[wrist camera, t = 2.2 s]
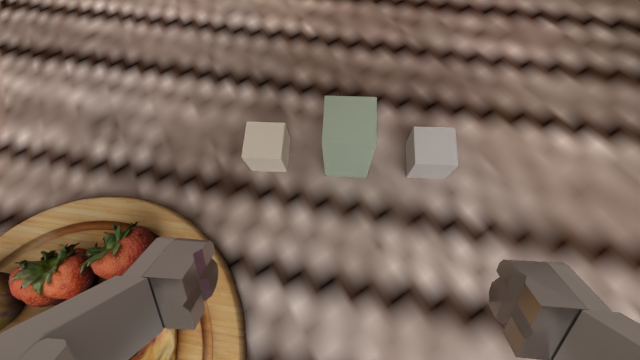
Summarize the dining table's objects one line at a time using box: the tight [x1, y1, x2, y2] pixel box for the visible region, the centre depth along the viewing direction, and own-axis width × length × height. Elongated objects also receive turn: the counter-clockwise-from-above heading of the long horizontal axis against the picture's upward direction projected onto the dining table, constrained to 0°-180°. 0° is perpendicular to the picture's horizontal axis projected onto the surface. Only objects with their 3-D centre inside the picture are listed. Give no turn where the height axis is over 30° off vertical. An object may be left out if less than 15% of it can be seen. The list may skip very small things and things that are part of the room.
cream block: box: [241, 122, 291, 172], centre depth 32 cm, size 4×4×4 cm
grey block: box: [405, 127, 458, 179], centre depth 31 cm, size 4×4×4 cm
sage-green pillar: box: [322, 96, 377, 178], centre depth 30 cm, size 4×4×8 cm
